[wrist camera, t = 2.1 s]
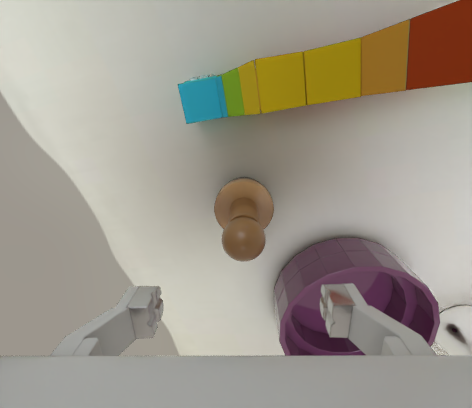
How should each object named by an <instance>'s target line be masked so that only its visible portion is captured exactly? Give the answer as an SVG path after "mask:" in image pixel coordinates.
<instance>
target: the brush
mask: <svg viewBox="0 0 472 408" xmlns="http://www.w3.org/2000/svg"><path fill="white" fill-rule="evenodd" d="M273 211H274V207H273V201H272V198H271V195H270V193H269V192H268V190H267V189H266V188H265V187H264V186H263V185H262V184H261V183H259V182H258V181H256V180H254V179H252V178H247V177H240V178H236V179H234V180H232V181H230V182H229V183H227V184H226V185H225V186H224V187H223V188H222V189H221V190H220V191H219V193H218V195H217V198H216V201H215V206H214V212H215V216H216V219H217V221H218V223H219V224H220V226H221V227H222V228H223V229H224V231H223V234H222V245H223V248H224V250H225V252H226V253H227V254H228V255H229V256H230V257H231V258H233V259H235V260H237V261H250V260H253V259H255V258H256V257H257V256H259V255H260V253H261V252H262V251H263V249H264V246H265V240H266V239H265V233H264V230H263V229H265V228H266V227H267V226H268V224H269V223H270V221H271V219H272V216H273Z"/></svg>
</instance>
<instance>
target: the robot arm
mask: <svg viewBox="0 0 472 408" xmlns="http://www.w3.org/2000/svg"><path fill="white" fill-rule="evenodd" d="M321 293H322V297H321V298H320V312H321V315H322V318H323V319H324V320H325V321H326V325H325V326H326V329H327V331H328V334H329V336H330V337H337V338H348V339H349V340H350V341H352V342H353V343H354V344H355V345H356V346H357V347H358V348H359V349H360V350H361V351H362V352H363V353H364V354H366V355H346V356H119V355H120V354H121V353H122V352H123V351H124V350H125V349H126V348H127V347H128V346H129V345H130V344H132V343H133V342H134V341H135V340H136V339H139V338H153V337H154V335H155V332H156V330H157V328H158V327H157V322H158V321H160V320H161V317H162V314H163V300H162V299H161V298H160V295H161V288H160V287H159V286H130V287H129V288H128V289H127V290H126V292H125V293H124V295H123V296H122V298H121V300H120V301H119V302H118V304H117V306H116V307H115V308H111V309H110V310H108V311H106V312H105V313H103V314H101V315H100V316H98V317H96V318H95V319H94V320H92V321H90V322H88V323H87V324H85V325H84V326H82V327H80V328H78V329H77V330H75V331H74V332H72V333H70V334H69V335H67V336H65V337H64V339H63V340H62V341H61V342H60V344H59V345H58V346H57V347H56V349H55V350H54V351H53V353H52V354H51V355H50V356H0V408H472V355H436V353H435V352H434V351H433V350H432V348H431V347H430V346H429V345H428V343H427V342H426V341H425V340H424V338H423V337H422V336H421V335H420V334H418V333H416V332H415V331H413V330H411V329H409V328H408V327H406V326H404V325H403V324H401V323H399V322H398V321H396V320H394V319H393V318H391V317H389V316H388V315H386V314H384V313H383V312H381V311H379V310H378V309H376V308H374V307H373V306H368V305H367V303H366V302H365V300H364V299H363V297H362V295H361V294H360V292H359V291H358V289H357V288H356V286H355V285H354V284H353V283H348V284H322V286H321Z"/></svg>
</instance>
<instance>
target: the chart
mask: <svg viewBox="0 0 472 408" xmlns="http://www.w3.org/2000/svg"><path fill="white" fill-rule="evenodd" d="M255 66H256V68H255ZM255 66H254V60H253V61H250V62H248V63H246V64H244V65H242V66H240V67H238V68H235V69H233V70H231V71H229V72H227V73H225V74H223V75H218V76H216V75H214V74H210V75H209V76H208V77H207V76H206V75H204V76H199V79H198V77H193V78H190V81H186V82H185V83H182V84H178V88H179V92H180V97H181V101H182V105H183V110H184V114H185V119H186V123H187V124H189V123H195V122H200V121H206V120H211V119H217V118H222V117H231V116H241V115H252V114H260V110H261V113H268V112H273V111H279V110H284V109H290V108H295V107H301V106H306V105H312V104H318V103H325V102H331V101H337V100H343V99H349V98H356V97H361V96H365V95H373V94H382V93H390V92H398V91H406V90H411V89H419V88H427V87H435V86H443V85H451V84H459V83H467V82H472V0H459V1H456V2H454V3H451V4H448V5H446V6H443V7H441V8H438V9H435V10H433V11H430V12H427V13H425V14H422V15H419V16H417V17H414V18H411V19H409V20H406V21H403V22H401V23H398V24H395V25H393V26H390V27H388V28H385V29H382V30H380V31H377V32H374V33H372V34H369V35H366V36H364V37H361V38H357V39H353V40H349V41H344V42H340V43H336V44H332V45H328V46H324V47H319V48H315V49H311V50H307V51H304V52H297V53H291V54H284V55H278V56H272V57H266V58H260V59H255ZM244 113H245V114H244Z"/></svg>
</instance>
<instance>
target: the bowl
mask: <svg viewBox="0 0 472 408" xmlns="http://www.w3.org/2000/svg"><path fill="white" fill-rule="evenodd" d="M348 283H353V284H354V285H355V286H356V288H357V289H358V291H359V292H360V294H361V295H362V297H363V299H364V300H365V302H366V303H367V305H368V306H373V307H374V308H376V309H378V310H379V311H381V312H383V313H384V314H386V315H388V316H389V317H391V318H393V319H394V320H396V321H398V322H399V323H401V324H403V325H404V326H406V327H408V328H409V329H411V330H413V331H415V332H416V333H418V334H420V335H421V336H422V337H423V338H424V340H425V341H426V342H427V343H428V345H429V346H431V345H432V344H433V342H434V341H435V338H436V335H437V331H438V328H439V325H440V315H439V307H438V302H437V301H436V299H435V298H434V296H433V295H432V293H431V292H430V290H429V288H428V287H427V286H426V285H425V284H424V283H423V282H422V281H421V280H420V279H419V278H418V277H417V276H416V275H415V274H414V273H413V272H412V271H411V270H410V269H409V268H408V267H407V266H406V265H405V264H404V263H403V262H402V261H401V260H400V259H399V258H398V257H397V256H396V255H395V254H394V253H392V252H391V251H389V250H388V249H387V248H385V247H384V246H382V245H381V244H379V243H375V242H372V241H368V240H364V239H361V238H336V239H335V238H334V239H331V240H328V241H324V242H321V243H317V244H314V245H312V246H310V247H309V248H307V249H306V250H304V251H302V252H301V253H299V254H297V255H296V256H295V257H294V258H293V259H292V260H291V261H290V262H289V263H288V264H287V265H286V267H285V268H284V269H283V270H282V272H281V273H280V276H279V278H278V281H277V283H276V285H275V288H274V307H275V313H276V320H277V327H278V334H279V341H280V344H281V346H282V348H283V351H284V353H285V356H346V355H366V354H364V353H363V352H362V351H361V350H360V349H359V348H358V347H357V346H356V345H355V344H354V343H353V342H352V341H350V340H349V339H348V338H337V337H330V336H329V334H328V331H327V329H326V326H325V325H326V321H325V320H324V319H323V318H322V315H321V312H320V298H321V297H322V293H321V286H322V284H348Z"/></svg>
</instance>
